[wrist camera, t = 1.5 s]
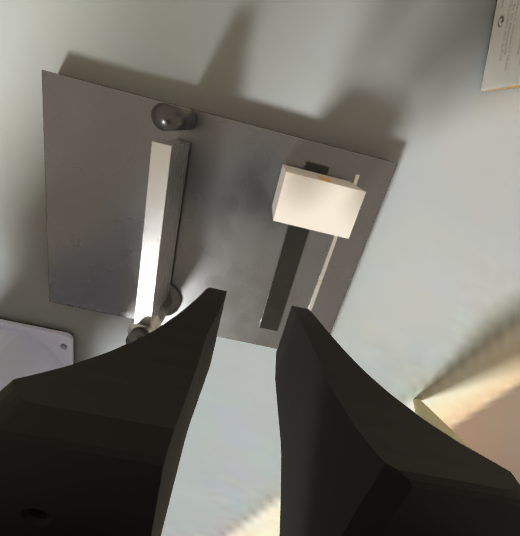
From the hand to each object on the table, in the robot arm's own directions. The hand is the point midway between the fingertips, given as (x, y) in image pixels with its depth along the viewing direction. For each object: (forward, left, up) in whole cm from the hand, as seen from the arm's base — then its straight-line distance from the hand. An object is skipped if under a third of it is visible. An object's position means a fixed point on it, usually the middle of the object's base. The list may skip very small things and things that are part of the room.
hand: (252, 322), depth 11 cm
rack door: (-1, +5, -8) cm, 9 cm away
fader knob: (+4, -2, -8) cm, 9 cm away
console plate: (0, +3, -9) cm, 10 cm away
